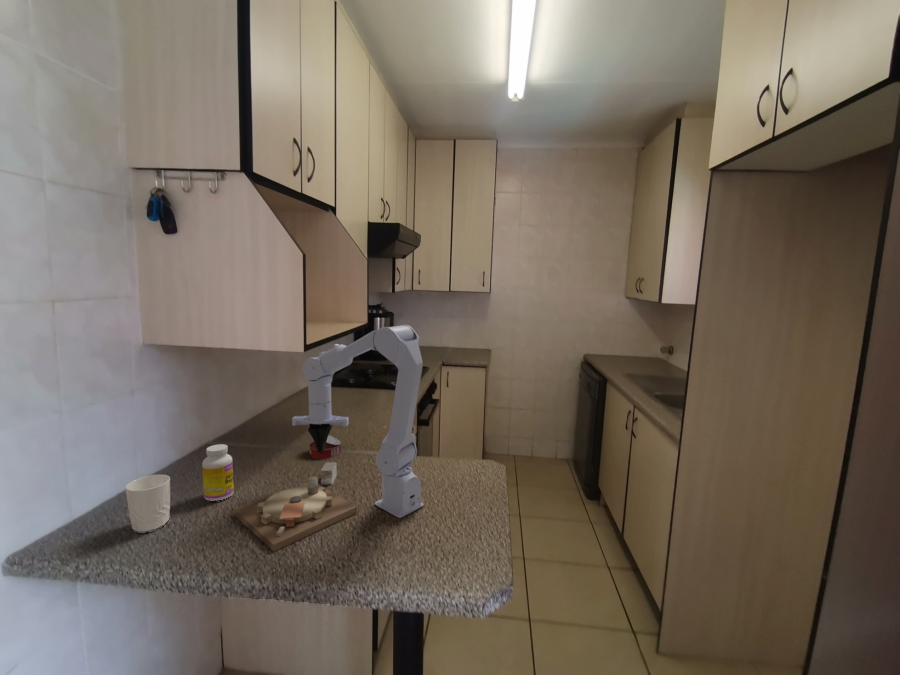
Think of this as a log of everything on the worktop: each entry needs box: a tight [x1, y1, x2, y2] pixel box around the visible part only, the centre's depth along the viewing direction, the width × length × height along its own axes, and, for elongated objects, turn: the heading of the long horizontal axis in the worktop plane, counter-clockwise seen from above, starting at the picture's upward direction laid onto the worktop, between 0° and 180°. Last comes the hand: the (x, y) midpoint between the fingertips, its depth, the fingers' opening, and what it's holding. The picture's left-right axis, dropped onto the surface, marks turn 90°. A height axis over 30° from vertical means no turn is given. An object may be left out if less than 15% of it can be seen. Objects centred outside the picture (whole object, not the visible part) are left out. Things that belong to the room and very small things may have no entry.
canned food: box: [309, 435, 342, 460], centre depth 134 cm, size 11×10×10 cm
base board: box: [233, 481, 358, 552], centre depth 97 cm, size 20×20×2 cm
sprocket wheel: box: [257, 476, 332, 527], centre depth 96 cm, size 16×16×5 cm
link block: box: [320, 461, 338, 486], centre depth 114 cm, size 6×3×4 cm, turn 3°
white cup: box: [124, 474, 171, 531], centre depth 91 cm, size 8×8×10 cm
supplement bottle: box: [201, 443, 235, 502], centre depth 104 cm, size 7×7×13 cm
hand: (321, 451), depth 110 cm, fingers closed
